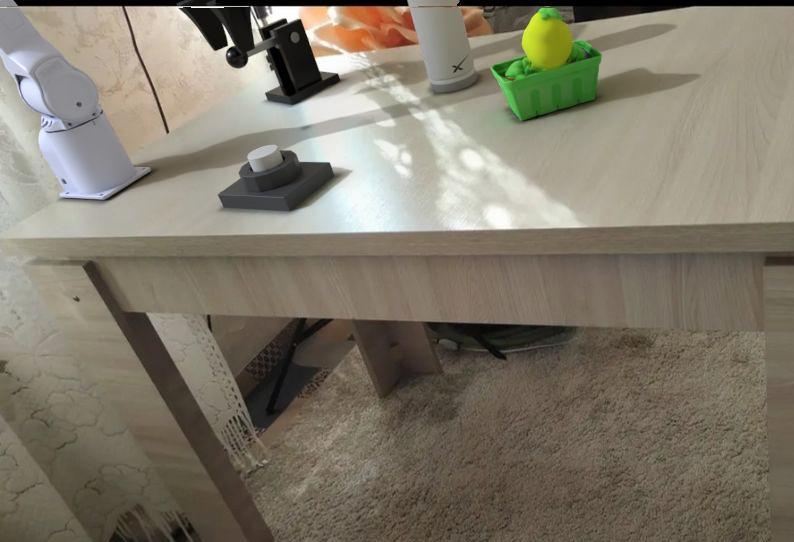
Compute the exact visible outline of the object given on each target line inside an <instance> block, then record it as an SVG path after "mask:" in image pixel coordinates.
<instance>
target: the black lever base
mask: <svg viewBox="0 0 794 542" xmlns="http://www.w3.org/2000/svg"><path fill="white" fill-rule="evenodd" d="M257 30H258V33H259V36H260V38H261V40H262V41H264V40H266V39H268V38H271V35H270V32H269V31H271V30H273V33H274V36H275V38H276V41H277V44H278V46H279V48H275V46H273V47H271V48H269V49H266V50H265V51H266V53H267V56H268V58H269V61H270V64H271V66H272V68H273V72H274V74H275V76H276V79H277V82H278V84H279V85H278V86H277V87H274V88H272V89H270V90H268V91H266V92H264V95H265V97H266V100H267V101H268V102H269V101H270V102H275V103H281V104H285V105H291V106H293V105H295V104H296V103H299V102H301V101H303V100H305V99H307V98H309V97H311V96H313V95H315V94H317V93H319V92H321V91H324V90H325V89H328V88H330V87H331V86H333V85H335V84H337V83H340V82H342V81H341V78H340V75H339V73H338V72H330V71H322V70H320V69H319V66H318V63H317V59H316V57H315V54H314V52H313V48H312V46H311V43H310V40H309V38H308V34H307V32H306V29H305V26H304V23H303V20H302V18H296V19H294V20H292V21H289V22H288V20H287V18H286V17H282V18H280V19H277V20H276V21H273V22H270V23H268V24H266V25H264V26H260V27H259V28H257Z"/></svg>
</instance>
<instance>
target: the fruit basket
mask: <svg viewBox="0 0 794 542" xmlns="http://www.w3.org/2000/svg"><path fill="white" fill-rule="evenodd" d="M545 7H550V6H545ZM537 11H538V12H536V13H535V14H534V15H533V16H532V17H531V19H530V20H529V23H528V24H527V26H526V28H525V30H524V31H523V34H522V39H521V48H522V50H523V51H524V54H525V55H522V56H519V57H516V58H511V59H509V60H505V61H502V62H498V63H495V64H493V65H491V66H490V71H491V73H492V75H493V77H494V78H495V79H496V81H497V83H498V85H499V87H500V90H501V92H502V93H503V96H504V99H505V100H506V102H507V104H508V106H509V108H510V110H512V112H513V113H514V115H516V117H517V118H518V119H519V120H520V121H526V120H529V119H533V118H535V117H537V116H542V115H546V114H549V113H554V112H556V111H558V110H563V109H567V108H571V107H573V106H576V105H578V104H584V103H588V102H590V101H593V100H595V99H596V96H597V95H596V94H597V86H598V80H599V72H600V71H599V70H600V64H601V63H602V58H603V53H602V52H600V51H599V50H598V49H597V48H595V46H593V45H592V44H590V43H588V42H587V41H585V40H573V34H572V32H571V29H570V27H569V26H568V24H567V23H566V22H565V21H563V20H564V17H563V16H562V15H561V12H560V11H559V10H558V8H556V7H553V8H543V7H541V8H540V9H539V10H537Z"/></svg>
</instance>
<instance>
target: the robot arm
mask: <svg viewBox="0 0 794 542" xmlns="http://www.w3.org/2000/svg"><path fill="white" fill-rule="evenodd" d="M215 1H216V0H182V1H180V2H177V3H176V6H244V5H216V4H221V3H216V2H215ZM0 6H18V4H17V3H16V2H15V1H14V0H0ZM178 10H180V11H181V12H182V13H183V14H184V15H186V16H187V18H188V19H190V20H191V22H192V23H193V25H194V26H195V27H196V28H197V29H198V31H199V32H200V33H201V35H202V36H203V38H204V39H205V41H206V42H207V44H208V45H209V46H210V47H211V49H212V50H213V52H217V51H220V50H222V49H224V48H226V47H228V46H229V42H228V37H227V34H228V35H229V38H230V40H231V42H232V43H233V46H235V47H236V48H237V50H238V51H239V53H240V54H244V53H246V52H248V51H251V50H253V49H255V44H256V43H255V37H254V31H253V25H252V16H251V15H252V14H251V13H252V6H251V7H224V8H191V7H183V8H178ZM226 32H227V34H226ZM0 58H1V60H2V63H3V65H4V68H5V69H6V70H7V72H8V73H9V74H10V75H11V77H12V78H13V79H14V81H15V83H16V84H15V85H16V87H17V91H18V94H19V96H20V98H21V100H22V102H23V103H24V104H25V105H26V106H27V107H28V108H29V109H31V110H32V111H34V112H36V113H38V114H41V117H40V119H41V121H40V123H41V124H40V126H41V129H40V130H39V133H38V141H37V142H38V147H39V150H40V153H41V154H42V156H43V157H44V159H45V160H46V163H47V164H48V166H49V167H50V169H51V171H52V172H53V174H54V176H55V177H56V179H57V180H58V182H59V183H60V185H61V187H62V189H63V191H62V192H59V197H60V198H67V199H86V200H102V201H104V200H106V199H109V198H110V197H112V196H113V195H115V194H117V193H118V192H120V191H121V190H123V189H125V188H126V187H128V186H129V185H131V184H133V183H134V182H135V181H137V180H140V179H141V178H142V177H143V176H145V175H147V174H148V173H150V172H152V169H151V167H149V166H134V165H133V163H132V161H131V158H130V157H129V155H128V153H127V151H126V150H125V147H124V146H123V144H122V142H121V140H120V138H119V137H118V135H117V133H116V131H115V129H114V126H113V125H112V123H111V122H110V120H109V118H108V116H107V114H106V112H105V110H104V108H103V107H102V105H101V104H99V100H100V95H99V90H98V87H97V85H96V83H95V81H94V80H93V78H92V77H91V76H90V75H89V74H88V73H86V71H84V70H82V69H80V68H79V67H76V66H74V65H73V64H72V63H70V61H68V60H67V59H66V57H65V56H64V55H63V53H62V52H61V51H60V50H59V49H57V47H55V46H54V45H53V44H52V43H51V42H50V41H49V40H47V39H46V38H45V37H44V36H43V35H42V34H41V33H40V32H39V31H38V29H37V28H36V27H35V26H34V24H33V23H32V22H31V20H30V19H29V18H28V17H27V16H26V15H25V13H24V12H23V11H22V9H21V8H20V7H19V8H0Z"/></svg>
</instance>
